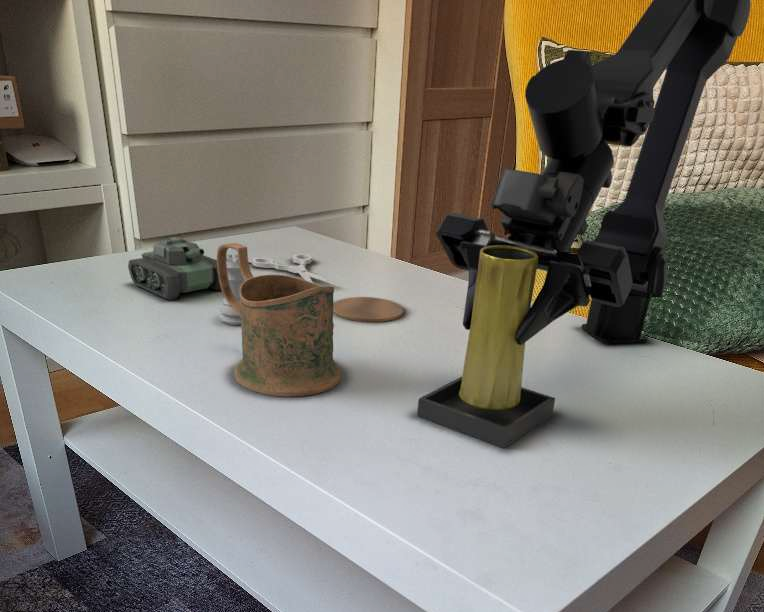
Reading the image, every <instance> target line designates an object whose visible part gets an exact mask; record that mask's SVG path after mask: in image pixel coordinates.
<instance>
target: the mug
mask: <svg viewBox="0 0 764 612" xmlns="http://www.w3.org/2000/svg"><path fill="white" fill-rule="evenodd" d="M229 249H232V250H235V251H236V252H237V254H238V261H239V267H240V270H241V273H242V276H243V278H244V279H245V281H244V282H243V283H242V284H241V286H240V289H239V294H240V303H239V302H238V301H237V300H236V298H235V297H234V295H233V293H232V291H231V288H230V284H229V280H228V274H227V263H226V255H227V253H228V250H229ZM248 253H249V252H248V247H247V246H246V245H243V244H240V243H235V242H231V243H223V244H221V245H220V246H219V247H218V249H217V252H216V260H217V269H218V277H219V282H220V287H221V290H220V291H221V293H222V295H223V298H224V297H225V299H226V301H227V302H228V303H229V305H230V306H231V307H232V308H233V309H234V310H235V311H236V312H237V313H238V315H239V316H240V318H241V325H240V326H241V349H242V359H241V360H240V361H239V362H238V363H237V364H236V366H235V368H234V378H235V380H236V382H237V383H238V385H240V386H241V387H243V388H245V389H247V390H249V391H252V392H254V393H259V394H262V395H266V396H267V395H268V396H275V397H303V396H304V397H305V396H311V395H316V394H320V393H322V392H323V393H324V392H327V391H329V390H331V389H332V388H335V386H337V385H338V384H339V383H340V381H341V379H342V370H341V368H340V365H338V364H337V363H336V361H335V360H334V326H335V323H334V311H333V305H334V293H335V287H334V286H326V285H321V284H319V283H316V282H315V283H314V282H313V281H312V282H313V283H312V282H309V281H306V280H304V279H303V278H299V277H294V276H291V275H287V274H286V275H285V274H263V275H262V274H261V275H257V276H256V275H255V276H254V274H253V273H252V271H251V268H250V262H248V257H249V256H248Z"/></svg>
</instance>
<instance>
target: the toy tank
mask: <svg viewBox="0 0 764 612" xmlns="http://www.w3.org/2000/svg"><path fill="white" fill-rule="evenodd" d="M204 254H205V250H204V249H203V248H200V246H199V245H198V244H197V243H195V242H192V241H189V240H187V239H184V238H181V237H170V236H168V237H167V238H165V239H163V240H161V241H160V242H157V243H156V244H154V245H153V251H147V252H143V253H141V258H133V259H129V260H128V265H127V268H128V272H129V276H130V279H131V280H132V283H133V284H134V285H135V286H137V287H139V288H142V289H143V290H146V291H149V292H151V293H152V294H155V295H156V296H159V297H161V298H164V299H166V300H168V301H174V300H177V299H178V297H179V295H180V293H183V294H185V293H190V292H195V291H200V290H201V291H202V290H206V289H208V288H211V289H213V290H215V291H222V290H221V287H220V282H219V277H218V269H217V259H215V258H212V257H211V256H207V255H204Z"/></svg>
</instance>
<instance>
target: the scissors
mask: <svg viewBox="0 0 764 612" xmlns="http://www.w3.org/2000/svg"><path fill="white" fill-rule="evenodd" d="M292 262H293V263H294V264H298V265H297V266H295V265H287V264H286V265H285V264H280V263H277V262H275V260H274V259H272V258H268V257H267V258H266V257H251V256H248V263H249V264H250V263H251V265H252V266H253V267H256V268H257V267H258V268H265V269H266V268H267V269H268V268H271V269H276V270H281V271H288V272H290V273H293V274H298V275H300V276H301V278H302V279H303V280H306V281H309V282H312V283H314V282H313V280H312V278H313V279H317V280H320V281H323V282H326V283H329V284H332V285H335V286H339V287H340V285H339V284H337V283H335V282H333V281H331V280H329V279H328V278H327V279H326V278H325V277H322V276H320V275H317V274H315V273H312V272H311V271H308V270H307V269H306V267H307V264H308V265H309V264H311V263H312V262H313V259H312V256H311V255H309V254H304V253H300V254H294V255H293V256H292Z"/></svg>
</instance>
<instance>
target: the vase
mask: <svg viewBox="0 0 764 612" xmlns="http://www.w3.org/2000/svg"><path fill="white" fill-rule="evenodd" d="M537 265H538V255H537V254H536V253H535V252H534V251H531V250H529V249H525V248H521V247H516V246H506V245H495V246H487V247H483V248H482V249H481V250H480V256H479V266H478V274H477V281H476V288H475V295H474V303H473V311H472V319H471V326H470V330H469V331H468V338H467V345H466V350H465V356H464V362H463V368H462V375H461V377H462V383H461V388H460V391H459V396H460V398H461V400H462V401H463V402H464V403H466V404H468V405H470V406H472V407H474V408H477V409H482V410H488V411H502V410H508V409H511V408H513V407H515V406H517V405H518V404H519V402H520V393H521V387H522V382H523V372H524V371H523V370H524V362H525V351H526V342H525V343H524V344H522V345H518V344H517V342H516V340H515V338H516V336H517V333H518V331H519V329H520V326H521V324H522V322H523V320H524V319H525V317H526V315H527V313H528V312H529V310H530V308H531V306H532V299H533V294H534V288H535V282H536V276H537V270H538V269H537Z"/></svg>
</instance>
